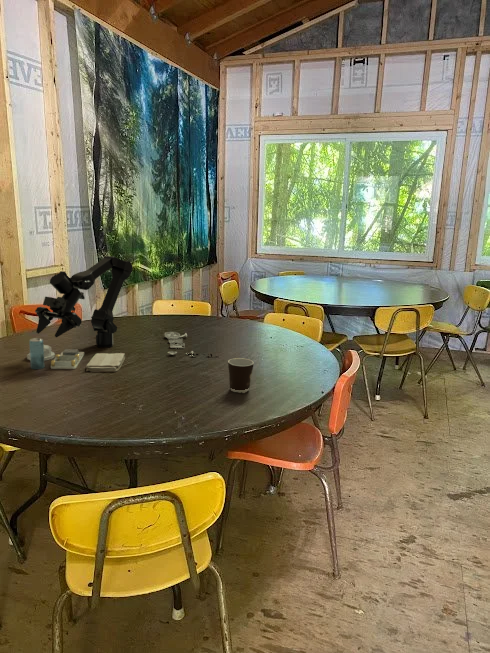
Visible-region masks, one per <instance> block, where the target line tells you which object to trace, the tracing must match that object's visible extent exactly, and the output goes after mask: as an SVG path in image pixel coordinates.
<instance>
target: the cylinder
mask: <svg viewBox="0 0 490 653" xmlns="http://www.w3.org/2000/svg"><path fill="white" fill-rule="evenodd" d="M28 340H29V342H28V343H29V353H30V360H29V361H30V369H32V370H41V369H44V368H45V367H46V366H45V361H44V345H45V344H44V339H43V338H42V337H33V338H30V339H28Z"/></svg>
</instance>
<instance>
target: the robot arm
mask: <svg viewBox="0 0 490 653" xmlns="http://www.w3.org/2000/svg"><path fill="white" fill-rule="evenodd" d="M133 269H134V266H133V264H132V262H131V261H129V260H123V259H119V258H117V257H116V256H110V255H106V256H103V258H102V259H101V260H100V261H98V262H96V263H95V264H93V265H92V266H91V267H89V268H88V269H87V270H83V271H80V272H77V273H75V274H72V276H70V277H69V276H68V273H67V272H66V271H59V273H56V274H54V275H52V276H51V278H50V279H49V284H50V285H51V286H52V287H53V288H54V289H55V290H56V291H57V292H58V293H59V294H61V295H62V296H57V297H51V296H46V295H45V297H44V299H43V302H42V305H43V306H37V308H36V309H35V311H34V313H36V316H38V322H37V327H36V334H41V333H42V332H43V331H44V330H45V329H46V328H47V327H48V326H49V325H50V324H51V321H53V319H58V320H59V319H60V320H61V323H60V324H59V327H58V328H57V329H56V332H55V334H54V337H55V338H58V337H60V336H61V335H63V334H65V333H67V332H68V331H70V330H72V329H75V328H77V327H78V328H79V327H80V326H81V325H82V324H83V323H82V322H83V321H82V318H81V317H80V316H79V315H78V314H77V313H76V312H75V310H76V307H75V306H76V304H77V303H78V301H79V300H85V295H84V294H85V293H84V292H82V291H80V290H83V291H88V290H89V289H91V288H92V286H94V284H95V281H96V280H97V279H98V278H99V277H101V276H102V275H103V274H105V273H106V272H107V271H109V270H111V276H112V278H111V280H110V283H109V285H108V288H107V291H106V293H105V296H104V298H103V302H102V304H101V307H99V308H98V309H96V308H95V309H94V310H93V314H92V316H91V317H90V319H91V320H90V324H91V327H92V329H93V331H94V332H96V334H95V344H96V348H112V347H113V346H114V344H115V342H114V334H115V333H117V331H118V326H117V325H116V324H115V323H114V320H115V318H114V313H113V312H114V308H115V305H116V303H117V300H118V297H119V296H120V291H121V290H122V287H123V284H124V282H125V281H126V280H127V279H129V278H130V276H131V274H132V272H133ZM45 306H46V307H45ZM73 311H74V312H73Z"/></svg>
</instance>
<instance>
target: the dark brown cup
mask: <svg viewBox="0 0 490 653" xmlns="http://www.w3.org/2000/svg"><path fill="white" fill-rule="evenodd" d="M254 363H255V362H254V361H253V360H252V359H248V358H242V357H237V358H235V357H234V358H231V359H228V361H227V365H228V379H229V380H228V382H229V389H230V388H232V389H235V390H245V389H248V388H249V389H250V386H251V381H252V374H253V371H254Z"/></svg>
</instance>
